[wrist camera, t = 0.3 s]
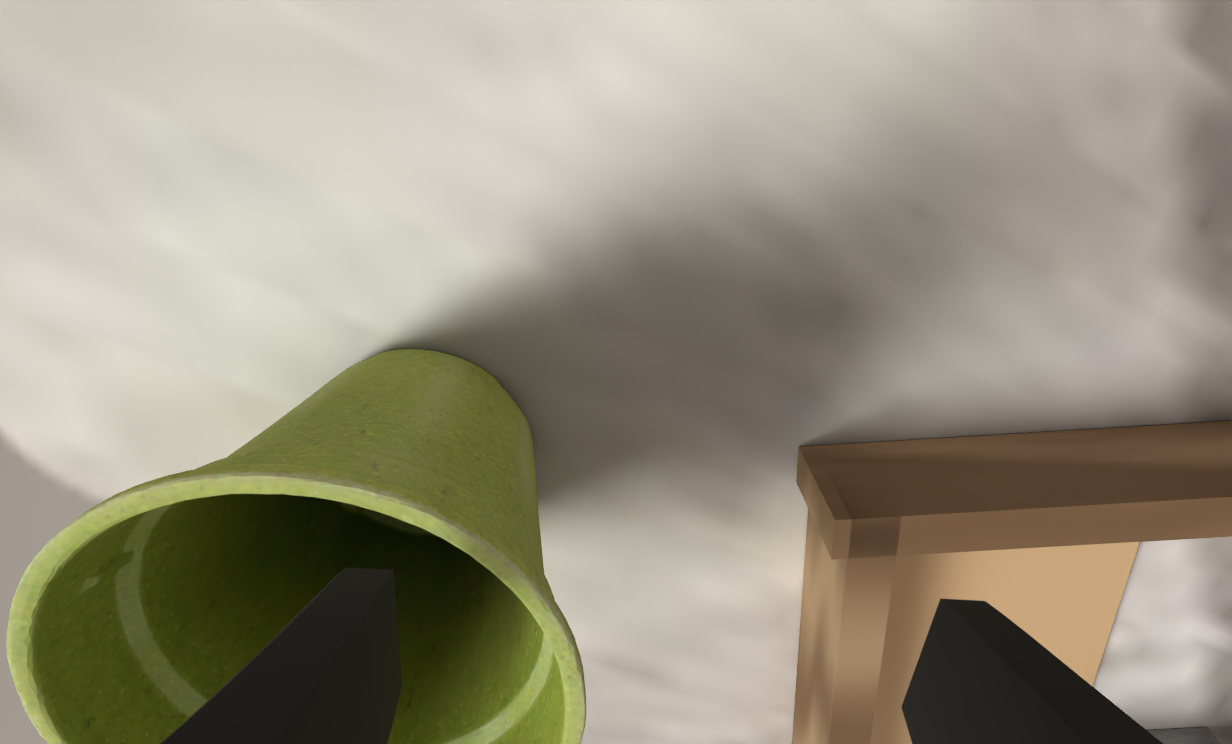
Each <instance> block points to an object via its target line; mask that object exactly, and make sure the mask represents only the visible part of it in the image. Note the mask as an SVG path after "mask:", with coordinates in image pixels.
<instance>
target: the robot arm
mask: <svg viewBox="0 0 1232 744" xmlns="http://www.w3.org/2000/svg"><path fill="white" fill-rule="evenodd" d="M401 687H402V675H401V662H400V649H399V635H398V622H397V609H396V596H395V582H394V570H383V569H364V568H345V569H343V570H342V571H341V572H340V573H338V574H337V575H336V576H335V577H334V578H333V579H332V580H331V581H330V582H329V583H328V584H327V585H326V586H325V587H324V588H323V589H322V590H321V591H320V592H319V593H318V594H317V595H316V596H315V597H314V598H313V599H312V600H311V601H310V602H309V603H308V604H307V605H306V606H305V607H304V608H303V609H302V610H301V611H300V612H299V613H298V614H297V615H296V616H295V617H294V618H293V619H292V620H291V621H290V622H289V623H288V624H287V625H286V626H285V627H284V628H283V629H282V630H281V631H280V632H279V633H278V634H277V635H276V636H275V637H274V638H273V639H272V640H271V641H270V642H269V643H268V644H267V645H266V646H265V647H264V648H263V649H262V650H261V651H260V652H259V653H258V654H257V655H256V656H254V657H253V658H252V659H251V660H250V661H249V662H248V663H247V664H246V665H245V666H244V667H243V668H242V669H241V670H240V671H239V672H238V673H236V674H235V675H234V676H233V677H232V678H231V679H230V680H229V681H228V682H227V683H226V684H225V685H224V686H223V687H222V688H221V689H219V690H218V691H217V692H216V693H215V694H214V695H213V696H212V697H211V698H210V699H209V700H208V701H207V702H206V703H205V704H204V705H202V706H201V707H200V708H199V709H198V710H197V711H196V712H195V713H194V714H193V715H191V716H190V717H189V718H188V719H187V720H186V721H185V722H184V723H183V724H181V725H180V726H179V727H178V728H177V729H176V730H175V731H173V732H172V733H171V734H170V735H169V736H168V737H167V738H165V739H164V740H163V741H162V742H161V743H160V744H387V743H388V739H389V736H390V732H391V728H392V724H393V720H394V716H395V712H396V708H397V704H398V700H399V696H400V691H401ZM901 708H902V711H903V714H904V718H905V721H906V724H907V728H908V731H909V735H910V738H911V741H912V744H1163V743H1162V742H1160V741H1159V740H1158V739H1157V738H1155V737H1154V736H1153V735H1152V734H1150V733H1149V732H1148V731H1147V730H1145V729H1144V728H1143V727H1142V726H1140V725H1139V724H1138V723H1137V722H1135V721H1134V720H1133V719H1132V718H1130V717H1129V716H1128V715H1127V714H1125V713H1124V712H1123V711H1122V710H1121V709H1119V708H1118V707H1117V706H1116V705H1114V704H1113V703H1112V702H1111V701H1110V700H1108V699H1107V698H1106V697H1105V696H1103V695H1102V694H1101V693H1100V692H1098V691H1097V690H1096V689H1095V688H1094V687H1092V686H1091V685H1090V684H1089V683H1087V682H1086V681H1085V680H1084V679H1083V678H1081V677H1080V676H1079V675H1078V674H1076V673H1075V672H1074V671H1073V670H1072V669H1070V668H1069V667H1068V666H1067V665H1066V664H1064V663H1063V662H1062V661H1061V660H1059V659H1058V658H1057V657H1056V656H1055V655H1053V654H1052V653H1051V652H1050V651H1048V650H1047V649H1046V648H1045V647H1043V646H1042V645H1041V644H1040V643H1039V642H1037V641H1036V640H1035V639H1034V638H1032V637H1031V636H1030V635H1029V634H1027V633H1026V632H1025V631H1024V630H1022V629H1021V628H1020V627H1019V626H1017V625H1016V624H1015V623H1014V622H1012V621H1011V620H1010V619H1009V618H1007V617H1006V616H1005V615H1003V614H1002V613H1001V612H999V611H998V610H997V609H995V608H994V607H993V606H991V605H990V604H989V603H987V602H986V601H977V600H958V599H940V601H939V604H938V607H937V609H936V612H935V615H934V618H933V620H932V623H931V626H930V629H929V632H928V634H927V637H926V640H925V643H924V645H923V648H922V651H921V654H920V657H919V659H918V662H917V665H916V668H915V670H914V673H913V676H912V679H911V682H910V684H909V687H908V690H907V693H906V695H905V698H904V701H903V704H902V707H901Z"/></svg>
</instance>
